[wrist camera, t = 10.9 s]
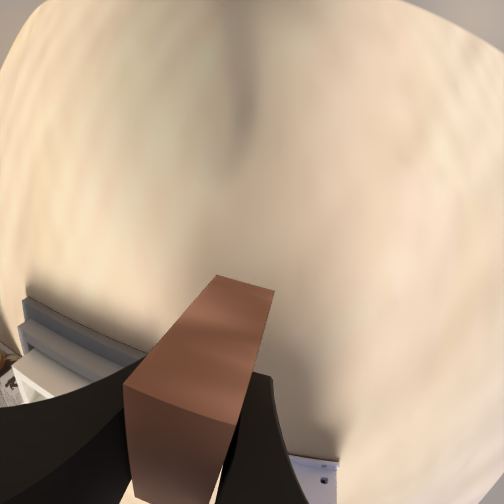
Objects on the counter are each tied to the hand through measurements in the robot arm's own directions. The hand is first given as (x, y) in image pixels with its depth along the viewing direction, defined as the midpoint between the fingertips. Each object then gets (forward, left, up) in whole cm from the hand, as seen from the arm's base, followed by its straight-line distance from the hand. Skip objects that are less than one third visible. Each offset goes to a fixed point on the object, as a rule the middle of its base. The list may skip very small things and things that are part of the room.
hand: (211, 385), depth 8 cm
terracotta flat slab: (0, 0, -2) cm, 2 cm away
